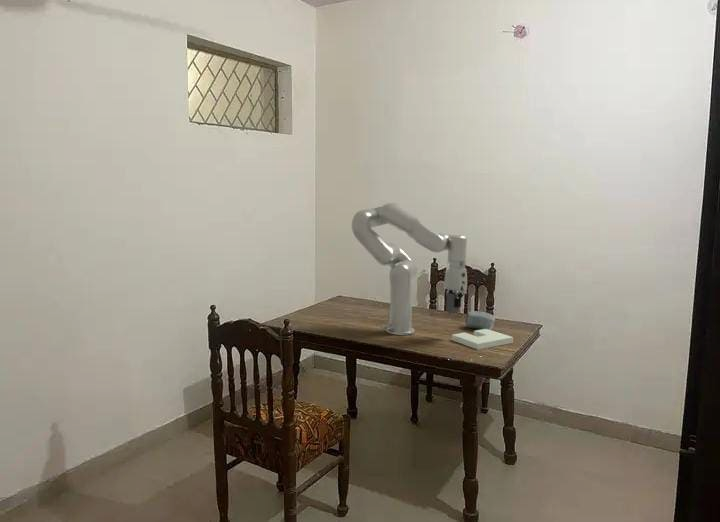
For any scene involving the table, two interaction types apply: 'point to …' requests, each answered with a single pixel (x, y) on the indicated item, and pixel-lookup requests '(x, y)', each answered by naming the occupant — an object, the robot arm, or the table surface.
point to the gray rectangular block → (451, 303)
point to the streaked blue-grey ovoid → (479, 320)
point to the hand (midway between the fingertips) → (453, 305)
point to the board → (482, 339)
